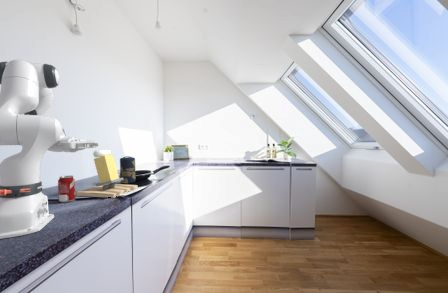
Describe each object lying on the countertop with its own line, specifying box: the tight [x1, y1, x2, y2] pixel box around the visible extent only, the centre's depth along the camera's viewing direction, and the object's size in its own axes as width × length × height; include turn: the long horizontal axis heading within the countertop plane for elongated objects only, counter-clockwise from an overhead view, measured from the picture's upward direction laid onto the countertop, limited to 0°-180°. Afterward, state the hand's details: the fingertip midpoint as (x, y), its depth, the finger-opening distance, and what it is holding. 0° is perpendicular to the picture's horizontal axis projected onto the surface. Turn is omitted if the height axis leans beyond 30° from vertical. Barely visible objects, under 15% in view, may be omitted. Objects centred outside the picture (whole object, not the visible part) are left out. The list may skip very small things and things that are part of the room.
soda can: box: [57, 175, 76, 204], centre depth 113 cm, size 7×7×12 cm
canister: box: [119, 155, 137, 184], centre depth 157 cm, size 10×10×18 cm
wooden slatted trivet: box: [75, 182, 139, 199], centre depth 132 cm, size 22×22×4 cm
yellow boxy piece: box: [92, 149, 123, 187], centre depth 132 cm, size 10×10×19 cm
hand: (92, 145), depth 133 cm, fingers open, 7 cm apart
